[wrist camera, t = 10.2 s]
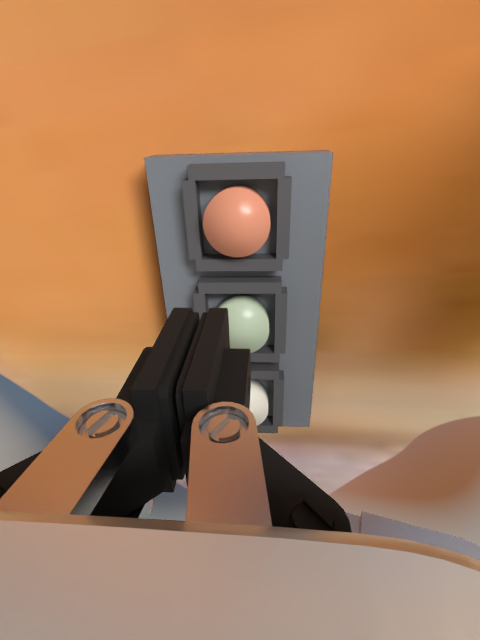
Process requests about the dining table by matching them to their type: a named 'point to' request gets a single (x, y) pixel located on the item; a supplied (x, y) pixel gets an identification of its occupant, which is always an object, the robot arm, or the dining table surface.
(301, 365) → the button panel
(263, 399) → the cream button
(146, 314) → the dining table surface
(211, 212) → the terracotta button
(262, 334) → the sage button
